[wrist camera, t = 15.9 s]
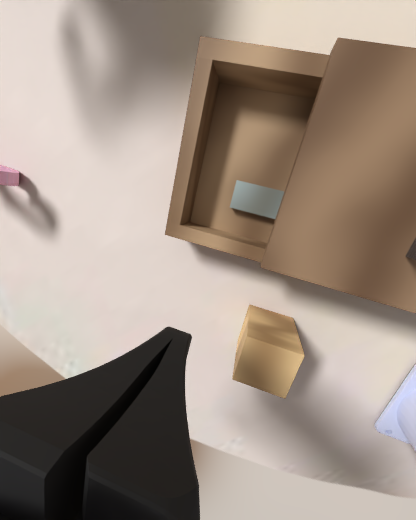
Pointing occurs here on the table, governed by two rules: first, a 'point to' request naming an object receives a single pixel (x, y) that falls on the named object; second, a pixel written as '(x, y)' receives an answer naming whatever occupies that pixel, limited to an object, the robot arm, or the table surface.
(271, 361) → the wooden block
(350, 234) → the lid
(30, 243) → the table surface
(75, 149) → the table surface
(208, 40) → the brown shallow open box
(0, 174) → the decorative key
